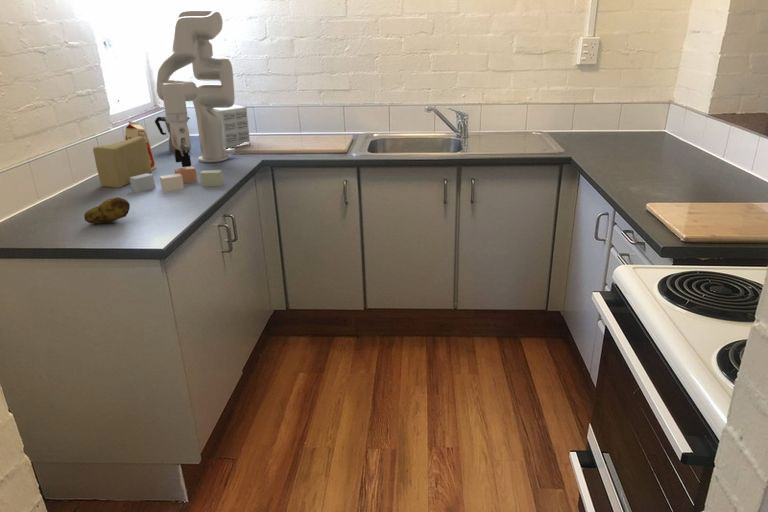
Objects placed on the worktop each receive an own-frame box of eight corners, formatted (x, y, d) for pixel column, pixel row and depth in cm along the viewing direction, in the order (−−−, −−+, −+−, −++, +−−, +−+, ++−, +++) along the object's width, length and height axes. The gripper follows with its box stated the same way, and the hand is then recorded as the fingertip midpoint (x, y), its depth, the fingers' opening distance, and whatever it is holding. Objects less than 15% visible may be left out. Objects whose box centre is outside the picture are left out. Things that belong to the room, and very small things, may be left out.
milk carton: (145, 172, 230) (136, 122, 222) (124, 171, 232) (115, 121, 224) (157, 166, 238) (149, 118, 230) (138, 166, 240) (129, 117, 232)
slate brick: (149, 186, 212) (147, 173, 210) (155, 188, 210) (153, 174, 208) (132, 190, 207) (129, 177, 205) (137, 192, 205) (135, 179, 203)
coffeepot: (194, 147, 273) (189, 108, 266) (193, 151, 264) (187, 111, 257) (161, 148, 270) (154, 110, 263) (158, 153, 261) (151, 113, 254)
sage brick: (223, 183, 215) (221, 170, 213) (220, 185, 212) (219, 172, 210) (204, 183, 215) (202, 170, 213) (201, 186, 211) (200, 173, 209)
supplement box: (209, 143, 280) (204, 106, 273) (233, 139, 288) (229, 103, 281) (226, 149, 268) (221, 110, 261) (251, 144, 277) (247, 106, 269)
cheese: (140, 171, 231) (133, 134, 226) (160, 173, 228) (154, 136, 223) (99, 186, 212) (90, 146, 206) (120, 188, 209) (112, 148, 203)
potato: (100, 217, 180) (95, 193, 177) (137, 219, 177) (132, 195, 174) (82, 226, 172) (76, 201, 169) (120, 229, 170) (115, 203, 167)
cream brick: (181, 186, 211) (179, 173, 209) (184, 189, 208) (182, 175, 206) (161, 189, 208) (159, 176, 206) (164, 192, 205) (162, 178, 203)
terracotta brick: (194, 178, 221) (192, 166, 219) (197, 181, 218) (195, 168, 216) (176, 181, 217) (174, 168, 215) (178, 184, 214) (176, 171, 212)
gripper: (193, 119, 203) (199, 167, 209) (181, 114, 217) (187, 159, 223) (171, 121, 199) (178, 169, 205) (161, 116, 213) (167, 161, 219)
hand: (183, 164), depth 214 cm, fingers open, 9 cm apart
